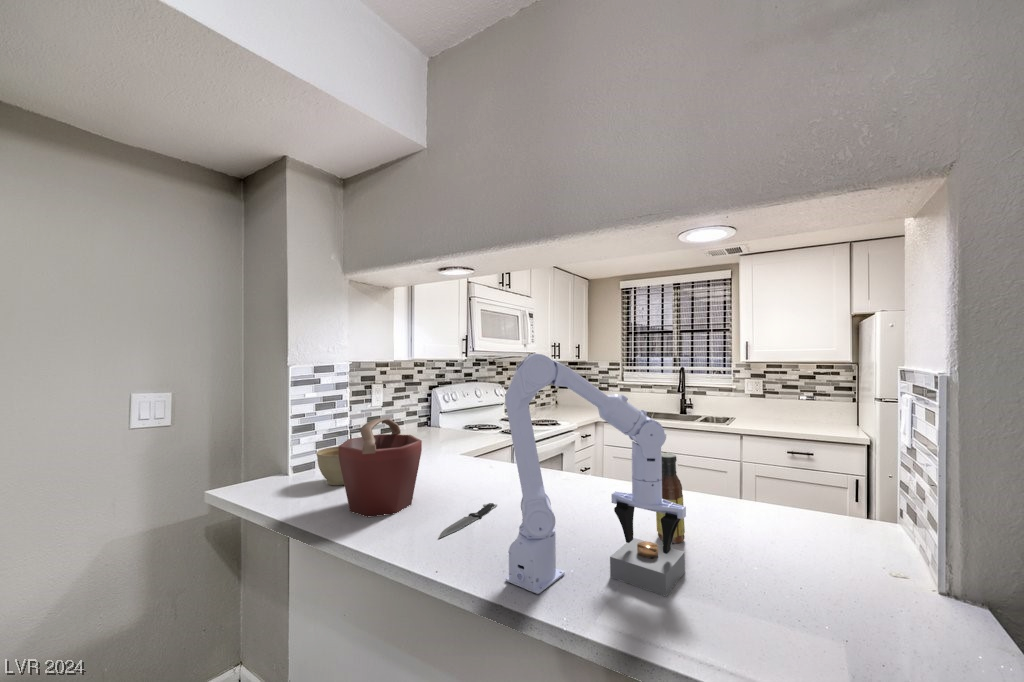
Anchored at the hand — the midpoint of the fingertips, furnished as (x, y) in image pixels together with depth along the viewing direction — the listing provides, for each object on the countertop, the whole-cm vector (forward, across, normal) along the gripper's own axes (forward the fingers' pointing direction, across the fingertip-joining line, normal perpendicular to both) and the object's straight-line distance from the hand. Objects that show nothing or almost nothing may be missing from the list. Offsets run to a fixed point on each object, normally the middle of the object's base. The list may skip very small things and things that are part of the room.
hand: (647, 546), depth 87 cm
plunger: (+6, 0, 0) cm, 6 cm away
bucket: (+6, +76, +10) cm, 77 cm away
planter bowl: (+6, +106, +4) cm, 106 cm away
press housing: (+6, 0, 0) cm, 6 cm away
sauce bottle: (+6, +2, -19) cm, 20 cm away
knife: (+6, +48, +2) cm, 48 cm away
